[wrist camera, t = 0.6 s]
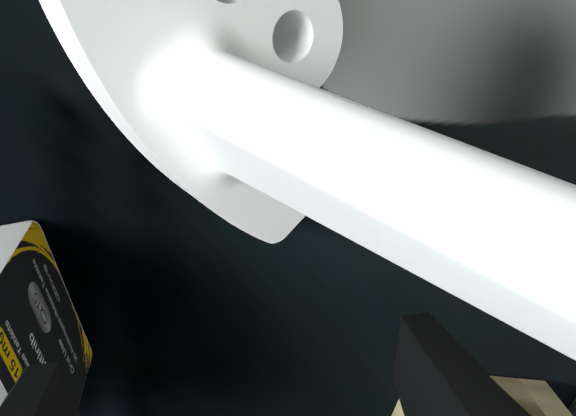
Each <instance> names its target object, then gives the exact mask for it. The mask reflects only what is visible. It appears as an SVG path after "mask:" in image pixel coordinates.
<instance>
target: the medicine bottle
mask: <svg viewBox="0 0 576 416" xmlns="http://www.w3.org/2000/svg"><path fill="white" fill-rule="evenodd" d="M91 360H92V350H91V347H90V345H89V342H88V340H87V338H86V335H85V333H84V330H83V328H82V325H81V323H80V320H79V318H78V316H77V313H76V311H75V308H74V306H73V303H72V301H71V299H70V296H69V294H68V291H67V289H66V286H65V284H64V282H63V279H62V277H61V274H60V272H59V269H58V267H57V265H56V262H55V260H54V257H53V255H52V252H51V250H50V248H49V245H48V243H47V240H46V238H45V235H44V233H43V231H42V228H41V226H40V224H39V223H38V222H36V221H34V220H28V221H23V222H17V223H12V224H7V225H2V226H0V405H1V404H2V402H3V401H4V399H5V398H6V396H7V395H8V393H9V392H10V390H11V389H12V387H13V386H14V384H15V383H16V381H17V380H18V378H19V377H20V375H21V374H22V372H23V371H24V370H25V369H26V368H27V366H31V365H39V364H46V363H53V362H59V363H60V366H61V368H62V370H63V373H64V375H65V378H66V380H67V382H68V385H69V387H70V390H71V392H72V394H73V397H74V399H75V402H76V404H77V406H78V408H79V404H80V400H81V396H82V393H83V389H84V385H85V382H86V378H87V374H88V371H89V367H90V363H91Z"/></svg>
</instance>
